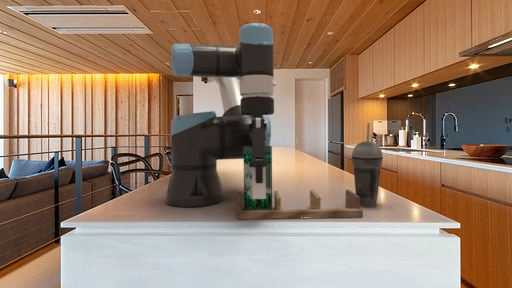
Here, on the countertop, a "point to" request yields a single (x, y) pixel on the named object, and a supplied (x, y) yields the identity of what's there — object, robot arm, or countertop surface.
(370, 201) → the beverage cup
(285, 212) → the notch rack
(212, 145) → the robot arm
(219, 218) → the countertop surface
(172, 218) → the countertop surface
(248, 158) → the can
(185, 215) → the countertop surface
